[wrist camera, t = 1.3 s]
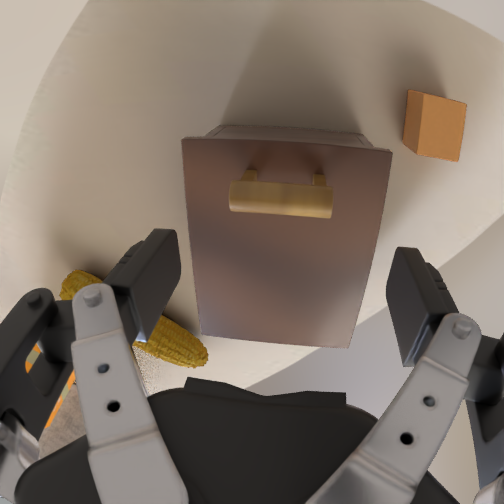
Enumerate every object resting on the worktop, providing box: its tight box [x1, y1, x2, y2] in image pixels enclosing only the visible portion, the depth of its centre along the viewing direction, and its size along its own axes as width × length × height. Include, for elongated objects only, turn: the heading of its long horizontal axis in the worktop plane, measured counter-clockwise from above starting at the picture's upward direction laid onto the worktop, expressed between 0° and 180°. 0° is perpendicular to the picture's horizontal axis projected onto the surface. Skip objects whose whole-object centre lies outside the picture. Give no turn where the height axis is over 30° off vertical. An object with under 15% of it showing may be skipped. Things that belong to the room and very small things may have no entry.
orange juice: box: [25, 344, 75, 428], centre depth 42 cm, size 8×9×20 cm
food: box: [59, 270, 208, 368], centre depth 38 cm, size 21×6×6 cm, turn 61°
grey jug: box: [38, 384, 86, 459], centre depth 44 cm, size 13×17×40 cm
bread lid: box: [181, 136, 393, 348], centre depth 20 cm, size 16×13×5 cm
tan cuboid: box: [402, 90, 467, 162], centre depth 22 cm, size 5×4×4 cm
